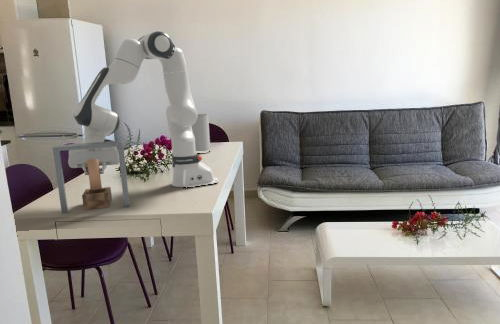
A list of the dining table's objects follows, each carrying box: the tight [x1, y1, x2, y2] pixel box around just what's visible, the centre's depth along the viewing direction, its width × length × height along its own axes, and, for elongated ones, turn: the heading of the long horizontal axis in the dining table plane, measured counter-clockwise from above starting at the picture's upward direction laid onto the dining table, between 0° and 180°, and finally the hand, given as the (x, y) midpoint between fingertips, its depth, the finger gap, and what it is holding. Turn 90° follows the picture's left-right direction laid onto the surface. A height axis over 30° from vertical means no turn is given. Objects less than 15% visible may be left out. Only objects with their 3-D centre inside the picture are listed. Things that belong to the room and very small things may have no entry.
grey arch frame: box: [52, 140, 131, 214], centre depth 174 cm, size 26×6×26 cm, turn 102°
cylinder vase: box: [191, 113, 211, 151], centre depth 288 cm, size 12×12×25 cm
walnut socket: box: [81, 186, 113, 211], centre depth 180 cm, size 10×10×6 cm
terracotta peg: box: [87, 159, 103, 190], centre depth 178 cm, size 4×4×12 cm
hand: (94, 173), depth 177 cm, fingers closed on terracotta peg, 4 cm apart
